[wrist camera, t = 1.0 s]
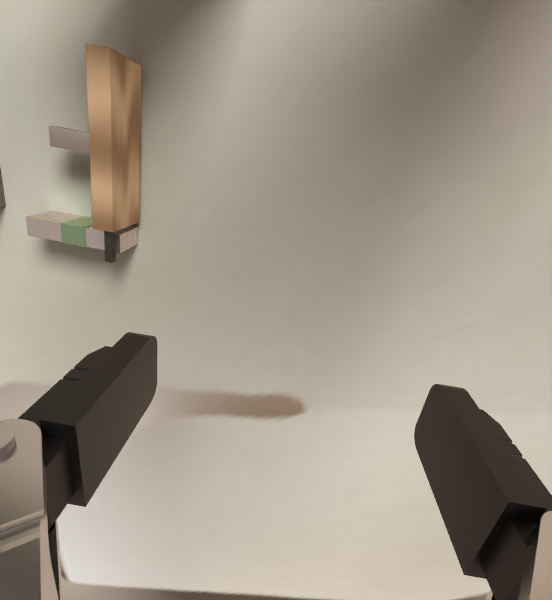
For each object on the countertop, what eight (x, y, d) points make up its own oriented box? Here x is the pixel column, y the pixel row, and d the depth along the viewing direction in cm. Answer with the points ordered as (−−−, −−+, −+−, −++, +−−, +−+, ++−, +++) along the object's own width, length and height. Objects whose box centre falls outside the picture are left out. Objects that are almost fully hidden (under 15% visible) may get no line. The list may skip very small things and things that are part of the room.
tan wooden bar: (69, 52, 26) (24, 32, 22) (141, 66, 26) (109, 48, 22) (80, 240, 32) (45, 253, 28) (138, 251, 32) (113, 266, 28)
